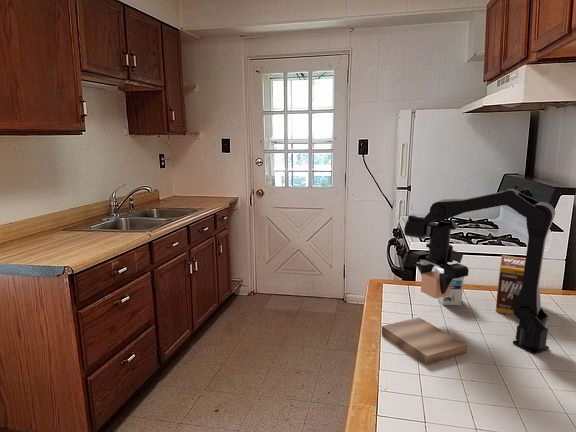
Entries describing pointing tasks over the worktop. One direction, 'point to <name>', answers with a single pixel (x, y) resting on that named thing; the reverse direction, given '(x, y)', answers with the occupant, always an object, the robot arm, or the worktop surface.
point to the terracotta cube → (433, 285)
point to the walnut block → (424, 340)
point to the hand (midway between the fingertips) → (435, 290)
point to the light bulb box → (452, 291)
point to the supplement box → (509, 282)
